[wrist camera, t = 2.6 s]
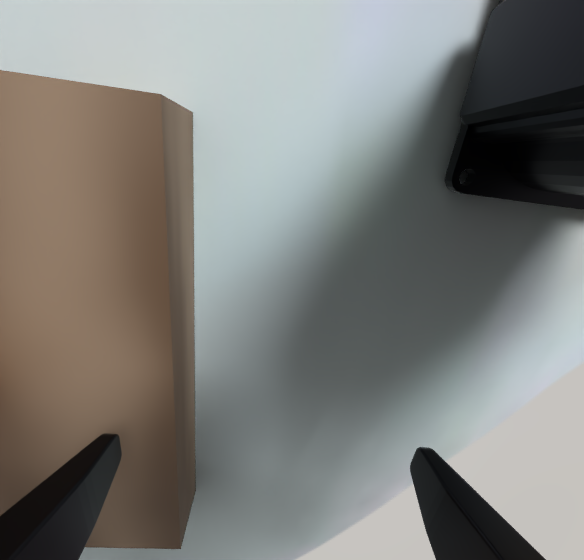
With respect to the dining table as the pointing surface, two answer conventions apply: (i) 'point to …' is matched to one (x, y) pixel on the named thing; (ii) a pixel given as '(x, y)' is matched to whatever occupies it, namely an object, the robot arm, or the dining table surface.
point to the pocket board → (98, 298)
